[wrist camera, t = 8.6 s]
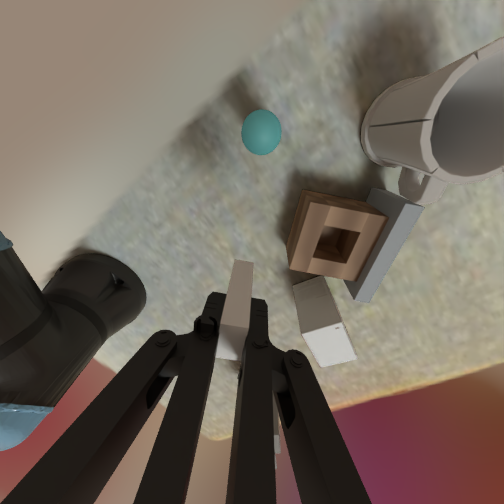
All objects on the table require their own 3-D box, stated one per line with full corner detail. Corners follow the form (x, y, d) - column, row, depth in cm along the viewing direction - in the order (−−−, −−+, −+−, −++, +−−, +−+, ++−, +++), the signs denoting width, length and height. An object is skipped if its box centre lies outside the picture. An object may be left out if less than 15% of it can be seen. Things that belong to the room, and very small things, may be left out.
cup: (454, 147, 26) (582, 154, 15) (379, 192, 29) (443, 223, 18) (426, 57, 22) (568, -14, 12) (344, 119, 25) (399, 106, 15)
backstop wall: (336, 267, 35) (354, 300, 28) (372, 187, 29) (405, 203, 22) (348, 269, 35) (369, 303, 28) (386, 190, 29) (424, 207, 22)
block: (285, 246, 34) (289, 269, 28) (302, 189, 29) (310, 202, 24) (341, 257, 34) (356, 281, 28) (366, 202, 30) (389, 217, 24)
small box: (291, 284, 37) (299, 333, 28) (323, 273, 36) (342, 321, 26) (308, 316, 40) (319, 369, 31) (337, 307, 39) (359, 360, 30)
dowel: (250, 145, 27) (238, 151, 17) (254, 118, 26) (245, 105, 15) (273, 150, 27) (276, 158, 17) (278, 123, 26) (285, 114, 15)
